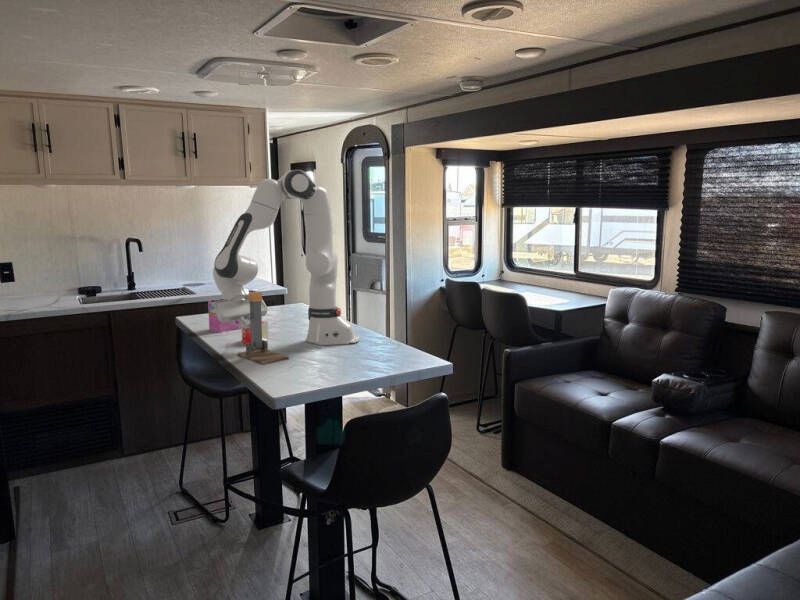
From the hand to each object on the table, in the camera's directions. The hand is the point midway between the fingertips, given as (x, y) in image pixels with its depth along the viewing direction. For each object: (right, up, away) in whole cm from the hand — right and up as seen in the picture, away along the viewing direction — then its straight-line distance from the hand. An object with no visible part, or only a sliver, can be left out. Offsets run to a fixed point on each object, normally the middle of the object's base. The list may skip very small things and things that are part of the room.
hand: (249, 326), depth 230 cm
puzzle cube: (-3, -7, +20) cm, 22 cm away
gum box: (-18, -3, +46) cm, 49 cm away
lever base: (+6, -11, -4) cm, 13 cm away
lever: (+3, -8, -2) cm, 9 cm away
